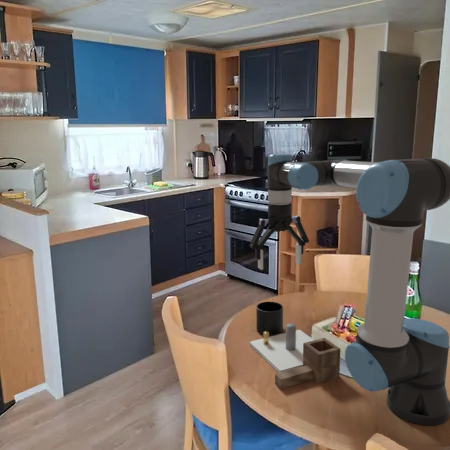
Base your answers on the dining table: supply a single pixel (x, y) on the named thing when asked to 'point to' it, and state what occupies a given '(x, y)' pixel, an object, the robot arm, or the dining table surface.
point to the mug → (269, 317)
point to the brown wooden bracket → (313, 364)
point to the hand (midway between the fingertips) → (279, 266)
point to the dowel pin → (266, 337)
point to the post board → (283, 349)
